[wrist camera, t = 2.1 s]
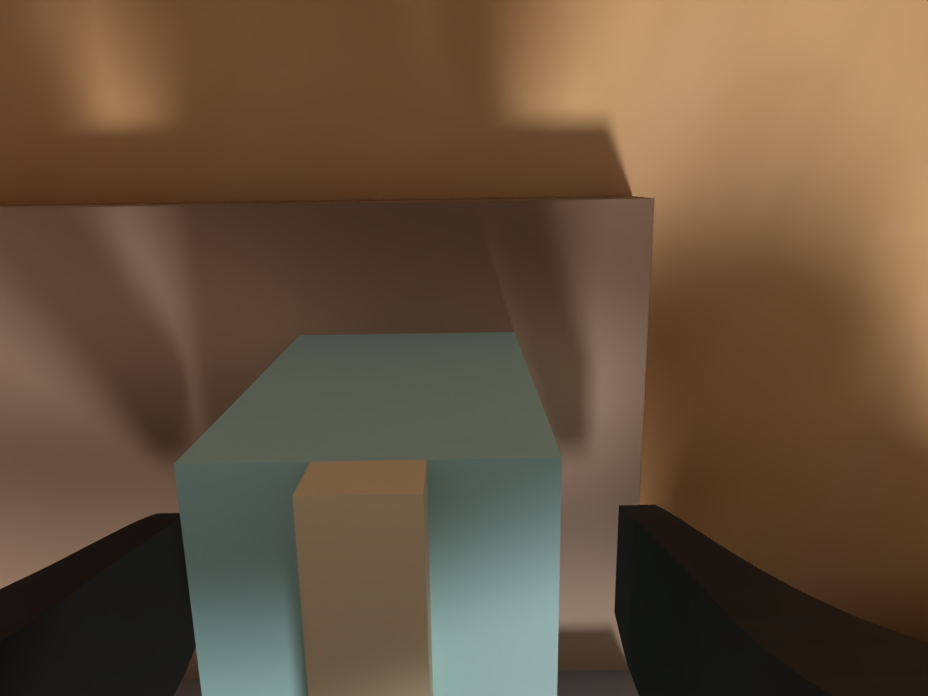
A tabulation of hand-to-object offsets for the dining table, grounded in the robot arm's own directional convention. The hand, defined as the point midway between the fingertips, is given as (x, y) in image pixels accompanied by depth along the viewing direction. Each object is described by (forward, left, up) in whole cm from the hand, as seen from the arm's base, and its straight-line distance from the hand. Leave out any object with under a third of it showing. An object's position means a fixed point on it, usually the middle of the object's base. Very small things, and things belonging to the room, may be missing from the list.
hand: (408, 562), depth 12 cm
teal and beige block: (0, 0, -2) cm, 2 cm away
